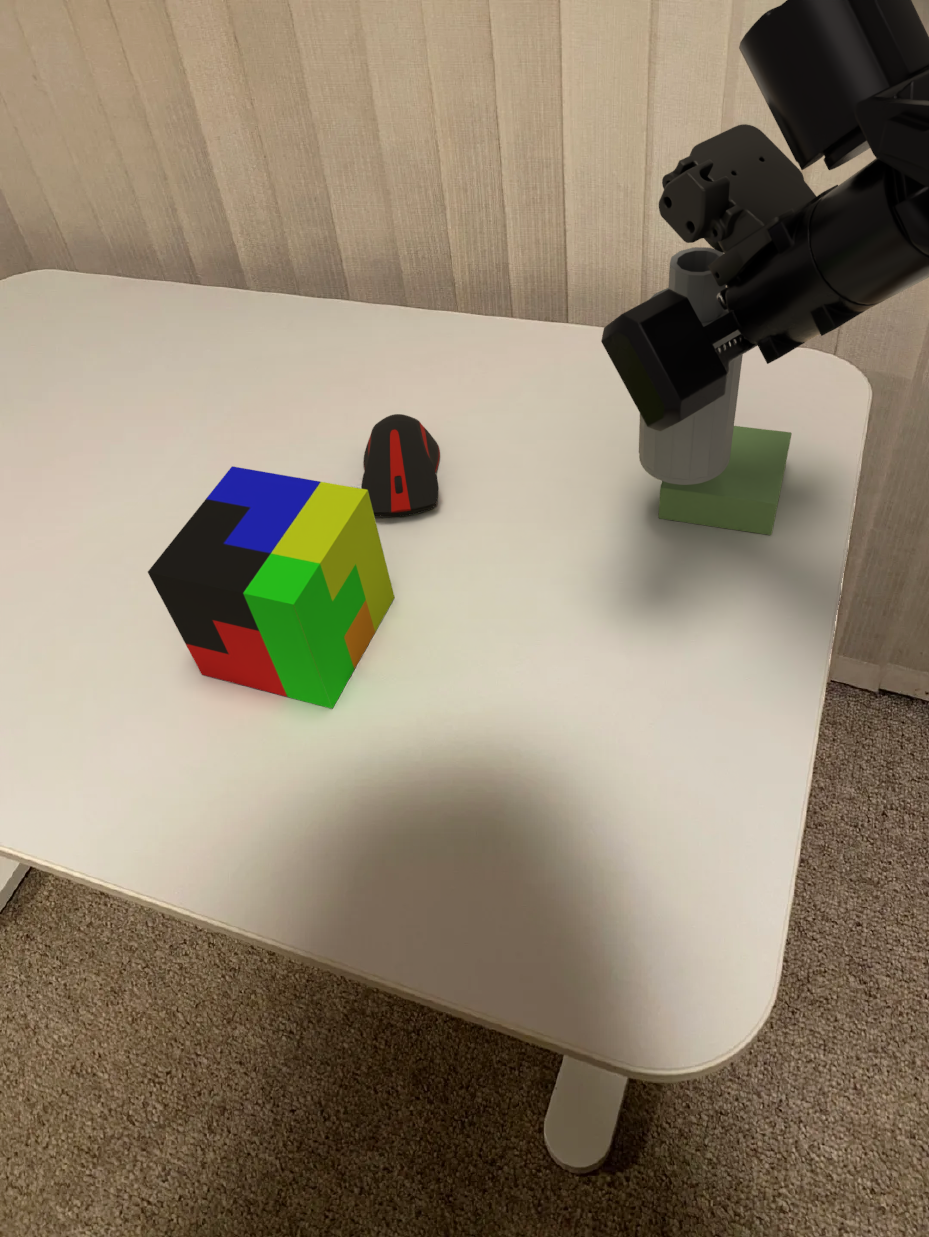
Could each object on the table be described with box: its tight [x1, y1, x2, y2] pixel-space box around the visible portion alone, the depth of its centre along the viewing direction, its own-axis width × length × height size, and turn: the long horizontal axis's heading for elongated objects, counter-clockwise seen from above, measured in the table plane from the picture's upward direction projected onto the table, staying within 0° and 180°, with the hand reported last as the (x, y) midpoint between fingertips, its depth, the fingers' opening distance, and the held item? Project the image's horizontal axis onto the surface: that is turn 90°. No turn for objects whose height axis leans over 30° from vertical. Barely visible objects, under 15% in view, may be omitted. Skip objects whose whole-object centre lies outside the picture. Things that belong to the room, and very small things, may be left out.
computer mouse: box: [360, 413, 441, 518], centre depth 72 cm, size 6×11×4 cm, turn 4°
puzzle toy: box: [147, 465, 396, 710], centre depth 60 cm, size 10×10×10 cm
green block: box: [657, 425, 792, 536], centre depth 68 cm, size 8×8×3 cm
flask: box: [638, 246, 744, 485], centre depth 58 cm, size 6×6×14 cm
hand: (675, 358), depth 58 cm, fingers closed on flask, 6 cm apart
